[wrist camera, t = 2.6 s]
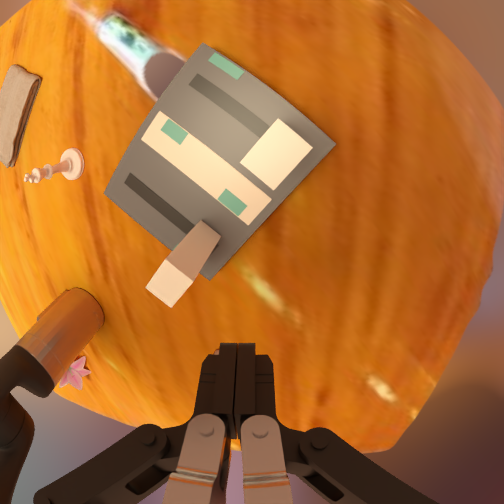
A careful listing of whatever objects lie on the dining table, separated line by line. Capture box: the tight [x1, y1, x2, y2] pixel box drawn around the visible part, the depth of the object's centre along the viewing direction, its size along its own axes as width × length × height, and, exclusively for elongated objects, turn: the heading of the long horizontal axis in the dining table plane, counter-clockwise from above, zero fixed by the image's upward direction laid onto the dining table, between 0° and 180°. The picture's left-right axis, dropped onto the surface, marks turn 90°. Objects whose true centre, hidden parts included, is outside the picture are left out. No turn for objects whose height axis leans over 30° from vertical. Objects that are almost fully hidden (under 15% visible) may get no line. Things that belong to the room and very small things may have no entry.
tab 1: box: [145, 220, 221, 308], centre depth 28 cm, size 3×4×10 cm
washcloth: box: [0, 65, 41, 168], centre depth 30 cm, size 12×18×3 cm, turn 146°
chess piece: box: [24, 148, 84, 183], centre depth 29 cm, size 5×5×10 cm
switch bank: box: [104, 43, 336, 281], centre depth 30 cm, size 18×22×3 cm
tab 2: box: [240, 118, 313, 191], centre depth 22 cm, size 3×4×10 cm
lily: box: [59, 356, 91, 390], centre depth 52 cm, size 11×11×9 cm
